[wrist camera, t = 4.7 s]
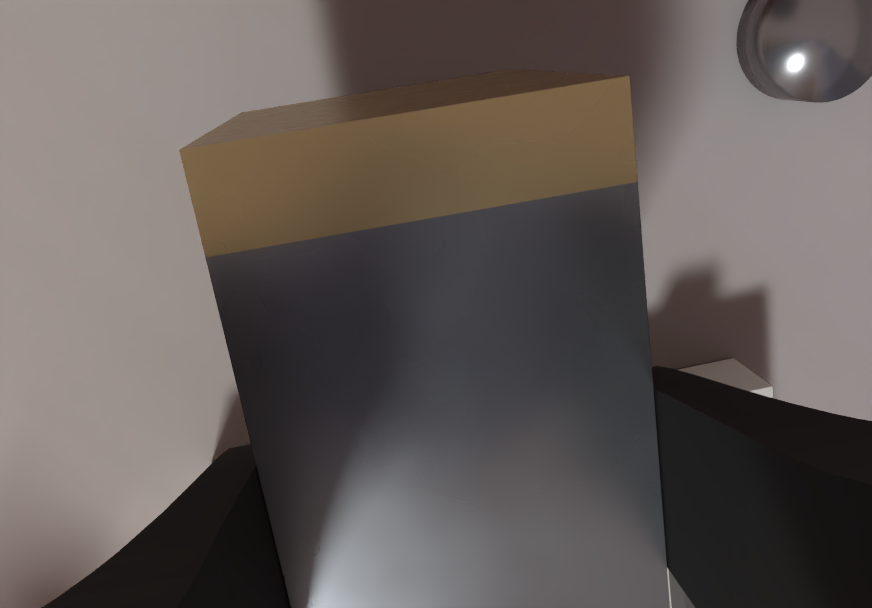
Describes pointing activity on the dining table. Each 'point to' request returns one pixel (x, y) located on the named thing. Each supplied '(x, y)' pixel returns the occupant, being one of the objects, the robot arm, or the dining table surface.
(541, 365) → the housing
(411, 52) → the dining table surface
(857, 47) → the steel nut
